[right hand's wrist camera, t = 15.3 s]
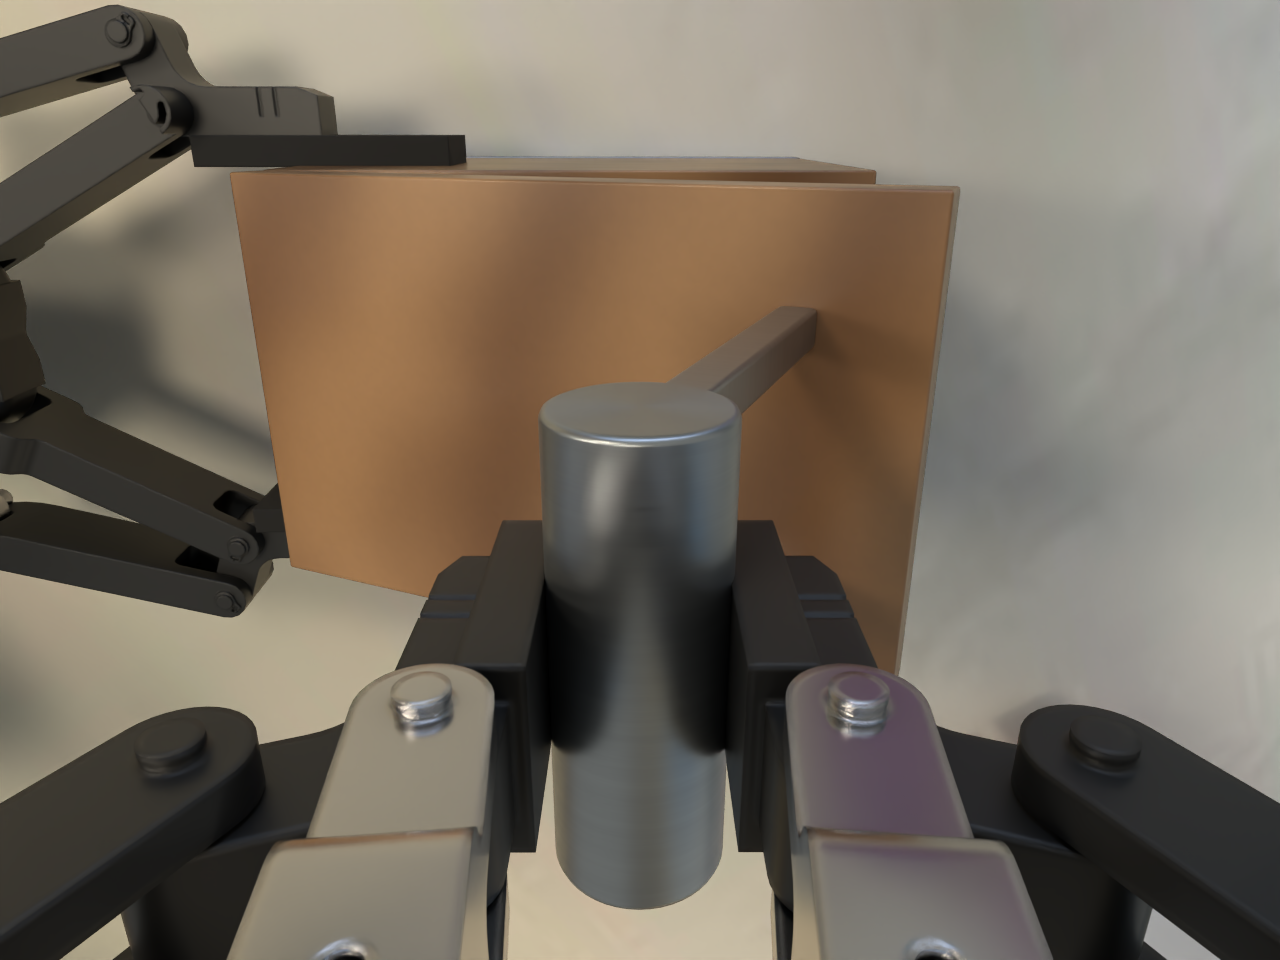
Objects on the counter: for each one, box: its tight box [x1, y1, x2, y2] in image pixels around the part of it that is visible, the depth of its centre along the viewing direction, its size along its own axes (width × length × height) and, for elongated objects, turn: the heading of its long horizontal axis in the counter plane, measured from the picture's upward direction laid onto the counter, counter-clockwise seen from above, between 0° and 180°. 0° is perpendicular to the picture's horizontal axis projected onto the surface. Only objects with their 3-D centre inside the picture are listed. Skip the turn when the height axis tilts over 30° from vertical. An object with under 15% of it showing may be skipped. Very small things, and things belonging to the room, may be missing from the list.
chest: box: [264, 157, 876, 184], centre depth 27 cm, size 14×10×11 cm
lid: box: [230, 170, 960, 910], centre depth 15 cm, size 15×10×9 cm, turn 89°
